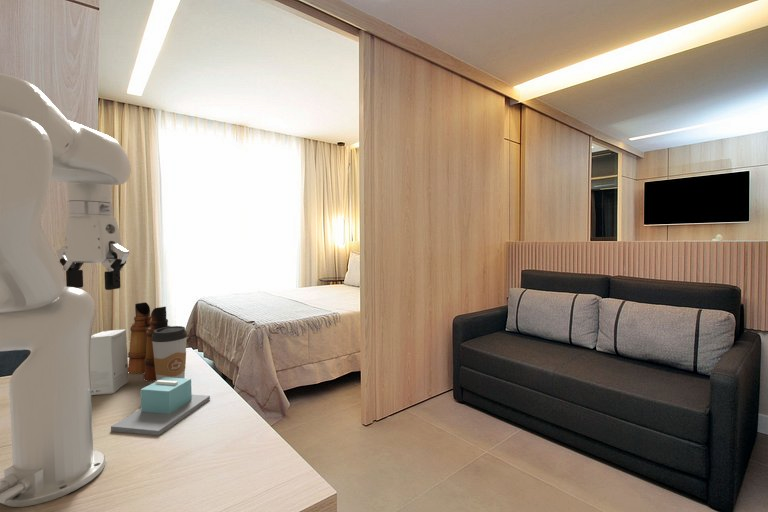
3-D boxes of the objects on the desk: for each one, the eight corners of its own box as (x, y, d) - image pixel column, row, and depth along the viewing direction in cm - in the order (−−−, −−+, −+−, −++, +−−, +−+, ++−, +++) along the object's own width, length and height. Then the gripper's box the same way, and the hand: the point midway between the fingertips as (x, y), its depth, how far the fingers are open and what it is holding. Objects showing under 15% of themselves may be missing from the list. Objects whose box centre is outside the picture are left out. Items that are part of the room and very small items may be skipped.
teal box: (191, 399, 84) (191, 376, 84) (169, 413, 77) (168, 388, 77) (165, 397, 85) (164, 374, 85) (141, 411, 78) (140, 386, 78)
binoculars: (122, 370, 106) (120, 304, 105) (152, 362, 113) (150, 300, 112) (152, 383, 96) (150, 310, 95) (183, 374, 103) (181, 306, 102)
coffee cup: (160, 393, 90) (158, 335, 89) (147, 385, 95) (145, 330, 94) (194, 382, 97) (192, 328, 96) (180, 375, 102) (179, 324, 101)
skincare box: (114, 394, 90) (112, 336, 89) (86, 396, 88) (84, 337, 88) (129, 381, 98) (127, 328, 97) (104, 383, 96) (102, 329, 96)
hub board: (158, 435, 71) (158, 412, 70) (110, 431, 72) (110, 408, 72) (209, 399, 86) (209, 380, 86) (169, 396, 88) (169, 377, 88)
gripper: (139, 212, 80) (142, 287, 81) (74, 212, 82) (77, 285, 83) (109, 209, 72) (112, 292, 73) (38, 210, 75) (42, 290, 76)
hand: (93, 288), depth 78 cm, fingers open, 9 cm apart
